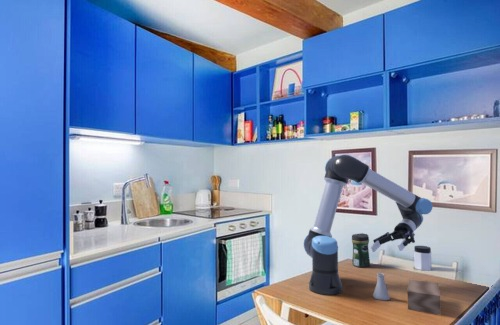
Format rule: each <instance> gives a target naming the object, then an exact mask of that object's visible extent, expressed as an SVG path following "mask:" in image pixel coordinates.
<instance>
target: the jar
mask: <svg viewBox="0 0 500 325" xmlns="http://www.w3.org/2000/svg"><path fill="white" fill-rule="evenodd" d="M413 255H414V257H413V258H414V269H417V270H419V271H428V272H429V271H431V270H432V250H431V247H430V246H426V245H415V246H414V251H413Z"/></svg>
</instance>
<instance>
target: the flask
mask: <svg viewBox="0 0 500 325" xmlns="http://www.w3.org/2000/svg"><path fill="white" fill-rule="evenodd" d="M385 275H386V274H385V273H382V272H381V273H380V272H378V273H376V276H377V281H376V285H375V287H374V292H373V294H372V298H374V299H375V300H379V301H390V299H391V295H390V293H389V290H388V288H387V285H386V282H385V281H386V280H385Z"/></svg>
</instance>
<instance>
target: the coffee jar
mask: <svg viewBox="0 0 500 325" xmlns="http://www.w3.org/2000/svg"><path fill="white" fill-rule="evenodd" d="M351 242H352V266H354V267H356V268H366V267H369V266H371V260H370V252H369V251H370V250H369V242H370V238H369V235H368V234H367V233H363V232H362V233H354V234H352V235H351Z"/></svg>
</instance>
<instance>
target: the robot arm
mask: <svg viewBox="0 0 500 325" xmlns="http://www.w3.org/2000/svg"><path fill="white" fill-rule="evenodd" d="M324 171H325V174H324V180H325V185H324V189H323V191H322V196H321V200H320V203H319V206H318V210H317V213H316V217H315V220H314V224H313V226H312V227H311V228H309V231H308V234H307V235H306V236H305V238H304V240H303V249H304V251H305V253H306V254H307V255H308V256H309V257H310V258H311V259H312V261H311V262H312V264H311V266H312V271H311V275H310V279H309V282H308V289H309V291H311V292H312V293H314V294H319V295H324V296H325V295H328V296H329V295H330V296H331V295H332V296H333V295H338V294H340V293H342V292H343V284H342V280H341V278H340V277H341V276H340V274H339V245H338V241H337V240H336V239H335V238H334V237H333V235H332V233H331V230H332V227H333V223H334V220H335V215H336V213H337V212H336V211H337V208H338V205H339V201H340V198H341V194H342V190H343V188H344V187H345V186H347V184H348V180H351V181H352V182H355V183H357V184H364V185H365V186H366V187H368V188H370V189H372V190H374V191H376V192H377V193H379V194H381V195H383V196H385V197H387V198H389V199H390V200H392V201H394V202H395V204H396V207H397V208H398V211H399V212H400V215H401V218H402V220H400V221H399V222H398V223H397V224H396V225H395V227H394V230H393V231H392V232H389V231H388V232H386V233H384V234H383V235H380V236H379V237H377V238H375V239H373V240H372V241H373V244H372V245H371V246H370V249H371V251H372V253H375V252H376V251H377V250H378V249H379V248H380V247H381V245H383V244H386V243H388V242H394V241H396V240H400V241H399V243H398V244H397V248H398V251H400V252H402V251H403V250H404V249H405V248H406V247H407V246H408V245H410V244H411V243H412V244H414V243H416V241H415V235H416V234H415V231H416V230H417V229H418V228H419V227H421V225H422V223H423V221H424V215H429V214H430V213H431V212H432V210H433V203H432V201H431V200H430V199H428V198H424V197H421V196H419V195H418V194H415V193H414V192H411V191H410V190H408V189H406V188H404V187H402V186H401V185H399V184H397V183H395V182H394V181H392V180H390V179H388V178H386V177H385V176H383V175H381V174H379V173H378V172H376V171H374V170H373V169H370V165H368V164H366V163H364V162H363V161H361V160H360V159H357V158H356V157H355V156H352V155H349V154H341V155H335V156H332V157H331V158H329V159H328V160H327V161H326V163H325V166H324Z"/></svg>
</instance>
